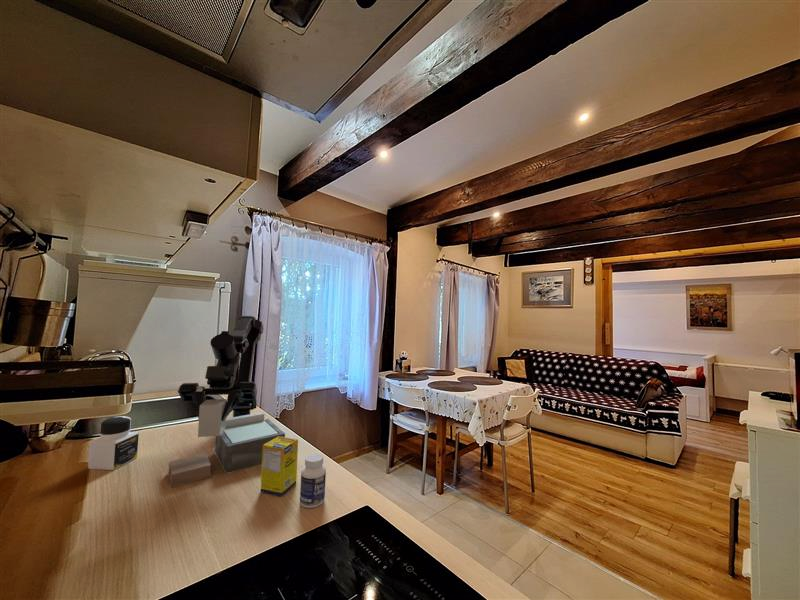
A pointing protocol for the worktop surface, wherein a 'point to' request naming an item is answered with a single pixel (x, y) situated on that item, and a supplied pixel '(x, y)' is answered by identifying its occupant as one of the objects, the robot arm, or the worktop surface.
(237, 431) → the trapdoor
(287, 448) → the supplement box
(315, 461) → the pill bottle
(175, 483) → the walnut plinth
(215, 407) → the light grey block
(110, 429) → the medicine bottle
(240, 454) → the frame
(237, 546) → the worktop surface
